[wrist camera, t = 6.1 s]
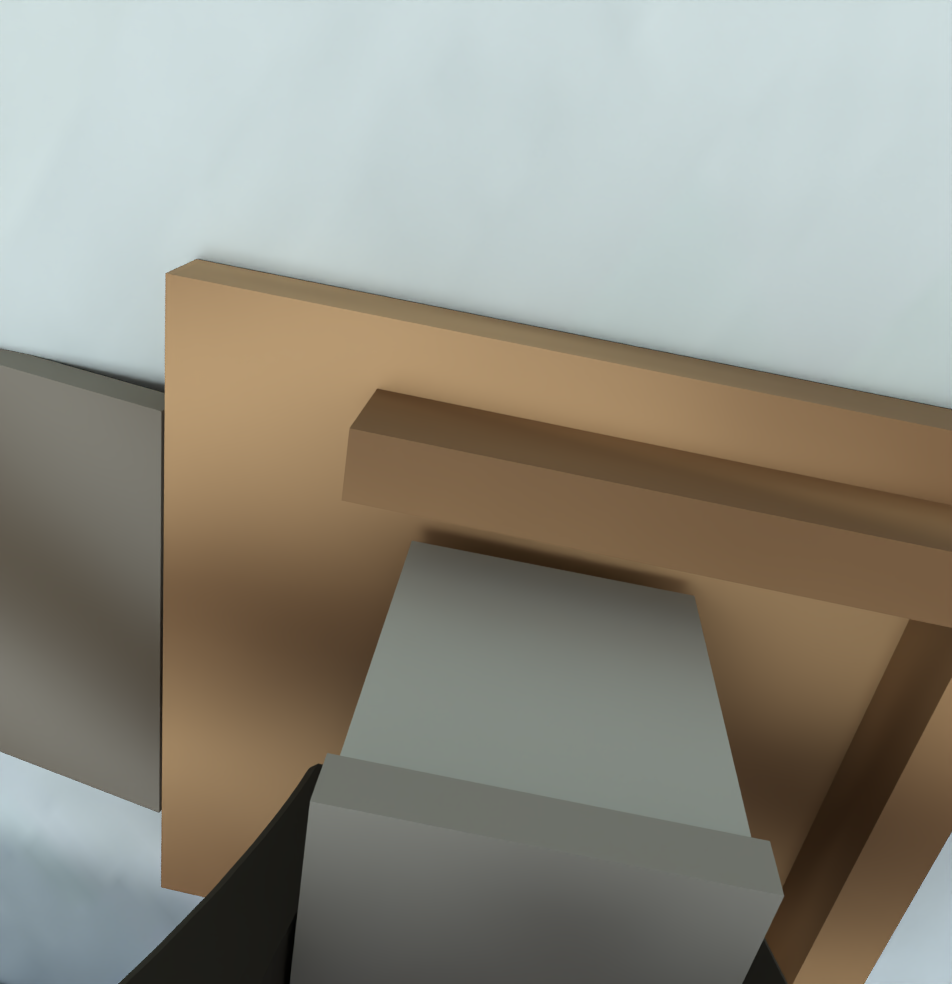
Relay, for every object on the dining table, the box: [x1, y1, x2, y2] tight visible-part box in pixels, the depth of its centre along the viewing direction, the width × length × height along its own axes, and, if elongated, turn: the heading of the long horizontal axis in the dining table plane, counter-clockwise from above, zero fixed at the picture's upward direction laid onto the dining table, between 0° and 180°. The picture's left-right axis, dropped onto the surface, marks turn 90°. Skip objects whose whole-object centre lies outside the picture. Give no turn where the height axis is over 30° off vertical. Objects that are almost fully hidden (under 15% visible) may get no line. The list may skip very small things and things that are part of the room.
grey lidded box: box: [290, 541, 784, 984], centre depth 11 cm, size 6×4×5 cm
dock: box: [0, 259, 952, 984], centre depth 14 cm, size 12×18×3 cm, turn 80°
